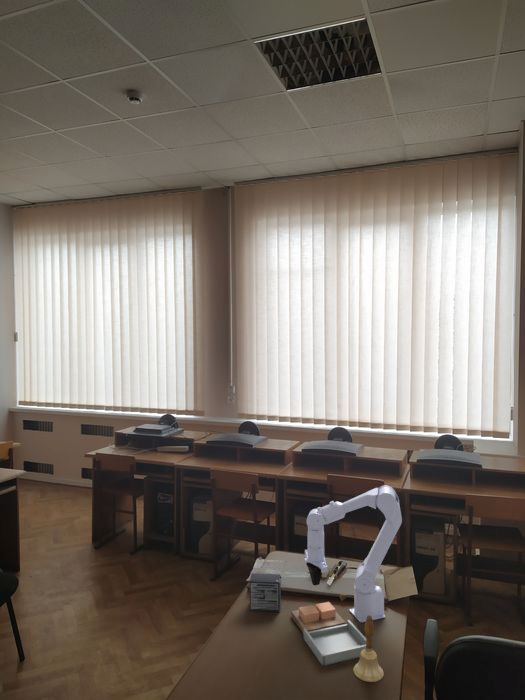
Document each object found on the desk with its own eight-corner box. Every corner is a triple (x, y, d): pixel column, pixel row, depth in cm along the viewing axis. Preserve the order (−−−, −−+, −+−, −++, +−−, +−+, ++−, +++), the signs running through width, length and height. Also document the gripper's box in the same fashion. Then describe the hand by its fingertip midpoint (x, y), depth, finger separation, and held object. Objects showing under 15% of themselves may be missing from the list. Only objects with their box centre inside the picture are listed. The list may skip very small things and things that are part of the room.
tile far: (312, 612, 169) (312, 604, 169) (319, 620, 165) (319, 612, 165) (298, 614, 168) (298, 607, 168) (304, 623, 163) (304, 615, 163)
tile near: (328, 609, 171) (328, 601, 171) (335, 616, 167) (335, 609, 166) (315, 611, 170) (315, 604, 170) (321, 619, 165) (321, 612, 165)
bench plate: (329, 609, 175) (329, 603, 175) (345, 628, 163) (345, 622, 163) (291, 616, 170) (291, 611, 170) (305, 637, 159) (305, 630, 159)
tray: (349, 628, 163) (349, 619, 163) (372, 654, 150) (371, 644, 150) (303, 638, 158) (303, 629, 158) (322, 666, 145) (322, 655, 145)
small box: (281, 602, 180) (281, 573, 179) (280, 612, 173) (280, 582, 173) (251, 601, 181) (251, 572, 180) (249, 611, 174) (249, 581, 174)
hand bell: (383, 664, 145) (383, 609, 145) (384, 684, 137) (384, 626, 137) (353, 661, 147) (353, 606, 147) (353, 680, 139) (353, 622, 138)
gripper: (297, 538, 180) (297, 576, 181) (314, 555, 167) (313, 596, 167) (315, 536, 183) (315, 573, 183) (333, 552, 169) (333, 592, 169)
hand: (315, 584), depth 175 cm, fingers closed
